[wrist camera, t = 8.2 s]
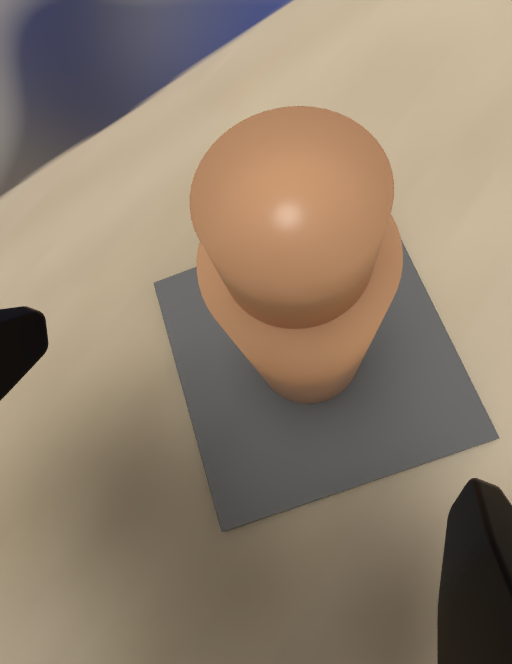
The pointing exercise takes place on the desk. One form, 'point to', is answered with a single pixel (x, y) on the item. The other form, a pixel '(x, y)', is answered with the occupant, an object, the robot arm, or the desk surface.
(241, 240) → the peach capped bottle
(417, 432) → the mat
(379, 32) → the desk surface
